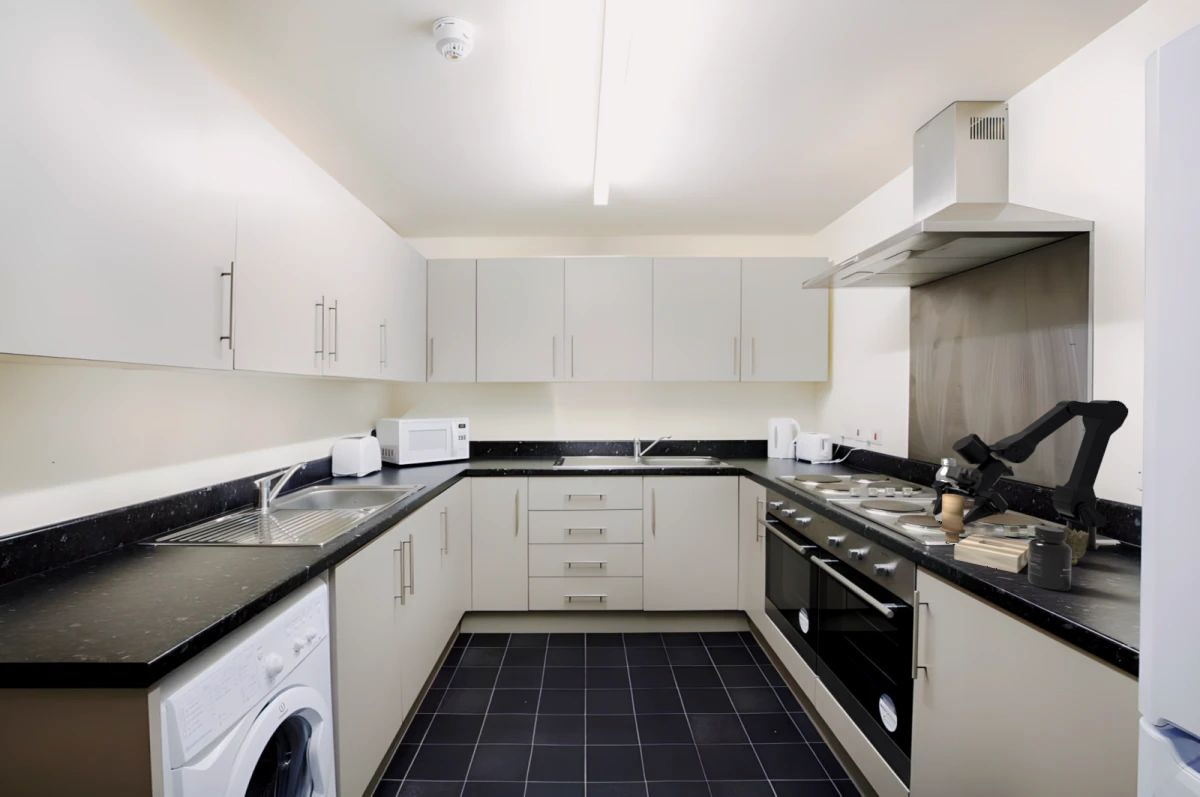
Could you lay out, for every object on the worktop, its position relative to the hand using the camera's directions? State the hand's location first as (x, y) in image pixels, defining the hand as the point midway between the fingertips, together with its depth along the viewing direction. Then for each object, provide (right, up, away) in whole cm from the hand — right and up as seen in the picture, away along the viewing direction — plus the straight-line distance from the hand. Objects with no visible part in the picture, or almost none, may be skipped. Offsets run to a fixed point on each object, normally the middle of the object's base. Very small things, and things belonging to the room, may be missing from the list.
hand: (948, 518), depth 136 cm
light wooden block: (+3, -7, -12) cm, 14 cm away
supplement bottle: (+1, -7, -29) cm, 30 cm away
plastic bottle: (+14, -7, +21) cm, 26 cm away
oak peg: (+1, -7, 0) cm, 7 cm away
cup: (+18, -7, -15) cm, 25 cm away
